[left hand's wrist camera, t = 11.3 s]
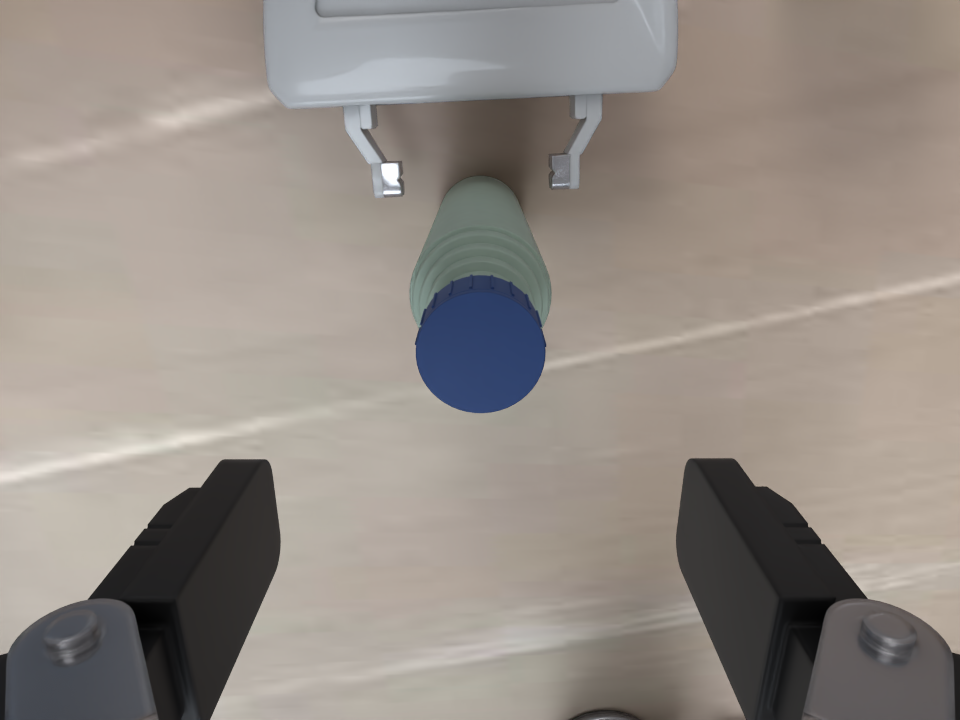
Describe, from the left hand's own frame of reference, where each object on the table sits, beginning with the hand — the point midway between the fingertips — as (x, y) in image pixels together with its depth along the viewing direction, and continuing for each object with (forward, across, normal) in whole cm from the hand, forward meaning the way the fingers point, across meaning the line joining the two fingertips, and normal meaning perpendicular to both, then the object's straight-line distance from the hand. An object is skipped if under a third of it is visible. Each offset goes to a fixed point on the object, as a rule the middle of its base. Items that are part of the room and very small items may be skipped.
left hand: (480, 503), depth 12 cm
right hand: (+26, 0, +2) cm, 27 cm away
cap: (+8, 0, 0) cm, 8 cm away
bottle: (+33, 0, 0) cm, 33 cm away
